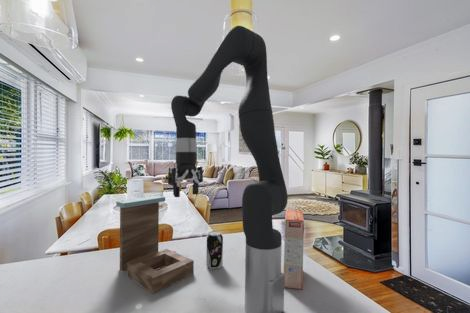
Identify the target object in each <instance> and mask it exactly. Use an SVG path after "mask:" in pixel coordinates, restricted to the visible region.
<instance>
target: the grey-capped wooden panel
mask: <svg viewBox="0 0 470 313" xmlns="http://www.w3.org/2000/svg"><path fill="white" fill-rule="evenodd" d="M162 202H166V197H165V196H162V195H152V196H146V197H145V196H144V197H138V198H131V199H124V200H117V201H116V202H115V204H116V207H119V271H121V272H124V271H127V263H128V262H131V261H133V260H136V259H139V258H142V257H145V256H148V255H151V254H153V253H156V252H159V234H160V233H159V231H160V230H159V228H160V227H159V222H160V219H159V216H160V212H159V211H160V210H159V206H160V204H159V203H162Z"/></svg>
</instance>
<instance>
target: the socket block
mask: <svg viewBox="0 0 470 313" xmlns="http://www.w3.org/2000/svg"><path fill="white" fill-rule="evenodd" d="M194 266H195V265H194V260H193V259H192V258H189V257H186V256H184V255H182V254H180V253H178V252H175V251H172V250H170V249H169V248H165V249H163V250H160V251H159V250H158V252H156V253H153V254H151V255H148V256H145V257H142V258H139V259H136V260H133V261H131V262H128V263H127V270H126V272H127V275H126V276H127V278H129V279H131V280H132V281H133V282H135V283H136V284H137V285H140V286H141V287H143V288H144V289H146V290H147V291H149V292H150V293H152V294H156V293H157V292H160V291H162V290H163V289H165V288H168V287H170V286H173V285H175V284H176V283H178V282H180V281H182V280H184V279H186V278H188V277H190V276H193V275H194Z"/></svg>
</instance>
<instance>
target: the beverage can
mask: <svg viewBox="0 0 470 313" xmlns="http://www.w3.org/2000/svg"><path fill="white" fill-rule="evenodd" d="M223 244H224V236H223V234H222V232H221V231H219V230H211V231H209V232H208V235H207V236H206V264H205V265H206V267H208V268H209V269H212V270H217V269H220V268H221V267H223V262H224V260H223V259H224V258H223V255H224V252H223V250H224V248H223V247H224V245H223Z"/></svg>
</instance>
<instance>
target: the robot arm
mask: <svg viewBox="0 0 470 313" xmlns="http://www.w3.org/2000/svg"><path fill="white" fill-rule="evenodd" d="M267 58H268V55H267V46H266V42H265V40H264V38H263V37H262V36H261V35H260V34H258V33H256V32H254V31H252V30H250V29H249V28H247V27H245V26H243V25H235V26H234V27H232V28H230V30H229V31H228V32H227V33H226V34H225V36H224V38H223V39H222V41H221V42H220V44H219V46H218V47H217V49H216V51H215V52H214V54H213V55H212V57H211V59H210V60H209V62H208V64H207V65H206V66H205V69H204V70H203V71H202V72H201V74H200V75H199V76H198V78H196V79H195V81H194V82H192V84H191V85H190V87H188V90H187V96H186V95H183V94H177V95H175V96H173V98H172V100H171V103H170V105H171V106H170V108H171V109H170V110H171V113H172V116H173V120H174V123H175V129H176V134H175V135H176V136H175V138H176V139H175V140H176V141H175V164H176V167H169V168H168V181H167V185H170V186H172V188H173V189H172V190H173V192H172V193H173V196H174V198H179V197H180V196H181V192H180V191H181V187H180V185H181V183H182V182H183V181H184V180H187V179H188V180H190V181H191V183H192V195H198V194H199V191H200V190H199V185H200V183H203V181H204V174H203V167H202V166H196V164H197V160H198V159H197V158H198V156H197V155H198V150H197V149H198V148H197V145H198V144H197V126H196V124H195V123H193V122H191V121H189V120H188V119H187V117H196V116H198V115H199V114H200V113H201V111H202V109H203V107H204V105H205V104H206V102H207V101H208V99H209V98H211V97H212V96H213V95H214V94H215V92H217V90H218V88H219V86H220V81H221V76H222V73H223V71H224V70H225V68H227V67H228V66H229V65H231V64H232V63H234V64H237V65H240V66H242V67H243V68H244V73H245V78H246V79H245V80H246V81H245V82H246V86H245V91H244V92H243V96H242V98H241V100H240V103H239V107H238V112H237V113H238V120H239V128H240V134H241V137H242V140H243V142H244V144H245V145H246V147H247V149H248V151H249V153H251V156H252V157H253V160H254V161H255V163H256V164H255V165H256V168H257V173H258V174H257V175H258V181H254V182H251V183H248V184H247V185H246V186H245V188H244V189H243V193H242V198H241V210H242V211H241V212H242V214H241V216H242V217H241V218H242V230H243V233H244V236H245V267H244V268H245V269H244V270H245V271H244V272H245V274H244V276H245V277H244V278H245V279H244V283H245V284H244V311H245V312H246V313H282V312H284V310H285V287H284V272H282V241H283V240H282V234H281V231H279V230H278V229H275V228H274V226H273V225H274V224H273V216H276V215H278V214H281V213H283V212H284V211H285V209H286V208H287V205H288V190H287V186H286V181H285V178H284V175H283V170H282V167H281V162H280V156H279V150H278V142H277V137H276V129H275V128H276V127H275V122H274V114H273V108H272V104H271V95H270V87H269V86H270V85H269V79H268V78H269V77H268V59H267Z"/></svg>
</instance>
